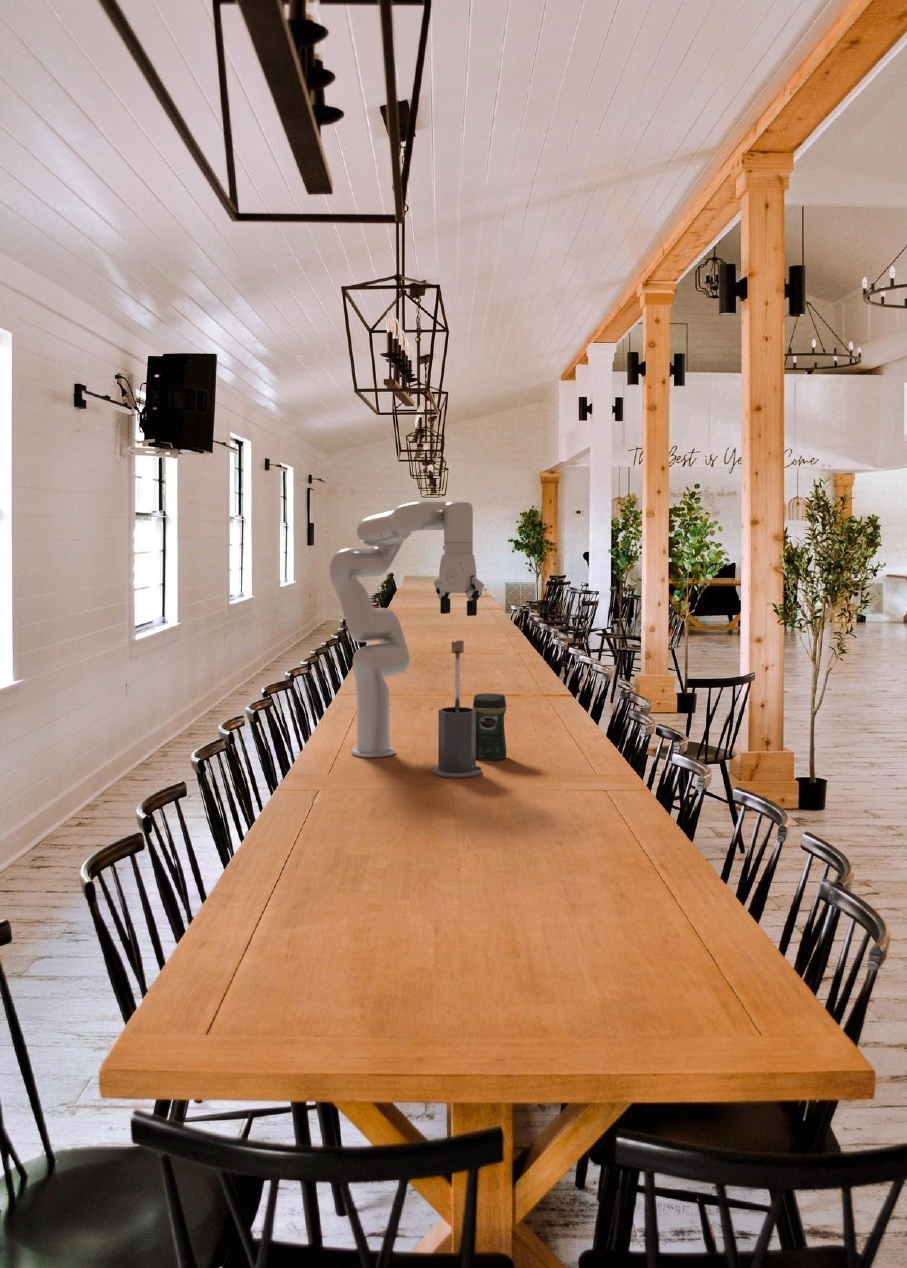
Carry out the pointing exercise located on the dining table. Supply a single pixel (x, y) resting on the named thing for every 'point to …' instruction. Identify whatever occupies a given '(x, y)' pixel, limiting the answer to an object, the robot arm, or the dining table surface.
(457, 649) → the plunger
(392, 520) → the robot arm
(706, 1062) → the dining table surface
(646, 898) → the dining table surface
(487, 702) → the coffee jar
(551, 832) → the dining table surface
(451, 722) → the press carafe
